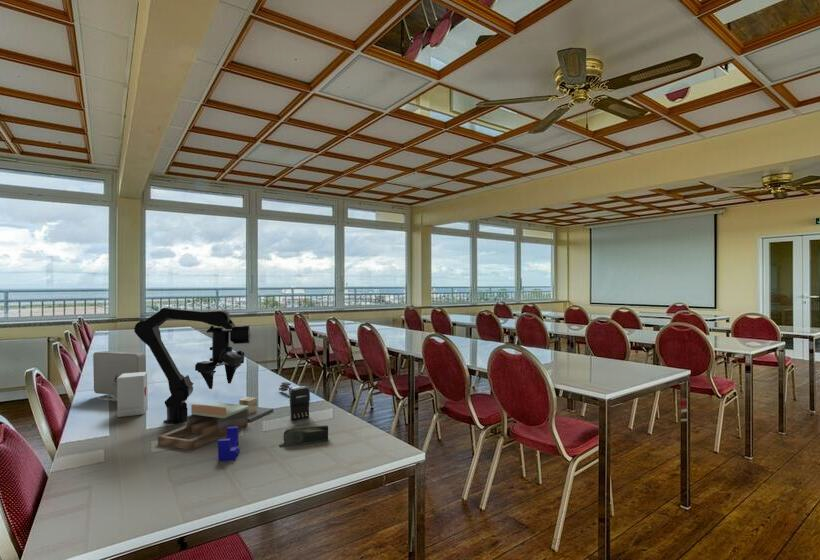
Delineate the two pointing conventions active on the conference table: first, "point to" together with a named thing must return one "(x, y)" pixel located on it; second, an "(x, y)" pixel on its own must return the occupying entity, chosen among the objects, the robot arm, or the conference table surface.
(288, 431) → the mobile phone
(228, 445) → the cable clip
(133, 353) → the network device
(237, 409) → the sliding cover
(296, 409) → the battery charger
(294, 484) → the conference table surface
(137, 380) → the supplement box
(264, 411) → the charcoal mat
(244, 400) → the beech block
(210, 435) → the wooden box
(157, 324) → the robot arm
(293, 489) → the conference table surface
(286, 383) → the extruded letter logo
